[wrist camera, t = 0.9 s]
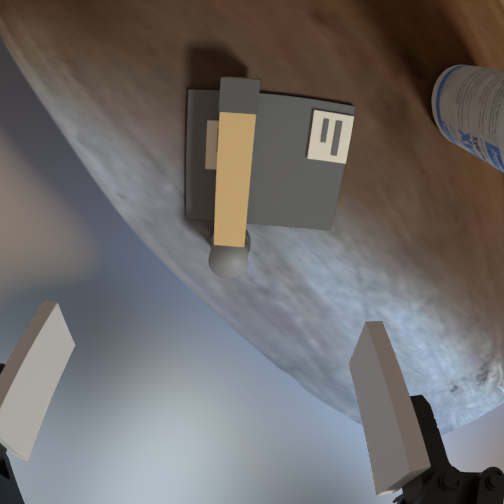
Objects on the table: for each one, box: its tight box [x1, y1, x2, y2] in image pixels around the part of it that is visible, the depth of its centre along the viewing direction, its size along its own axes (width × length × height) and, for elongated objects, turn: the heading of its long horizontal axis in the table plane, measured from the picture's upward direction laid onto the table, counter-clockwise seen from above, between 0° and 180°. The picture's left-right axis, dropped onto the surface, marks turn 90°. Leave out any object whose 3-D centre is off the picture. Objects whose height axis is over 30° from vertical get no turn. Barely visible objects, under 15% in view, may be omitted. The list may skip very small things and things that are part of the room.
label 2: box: [307, 110, 354, 164], centre depth 30 cm, size 5×4×1 cm
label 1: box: [205, 120, 219, 170], centre depth 31 cm, size 5×4×1 cm
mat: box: [186, 89, 355, 231], centre depth 32 cm, size 14×16×1 cm
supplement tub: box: [432, 65, 504, 173], centre depth 21 cm, size 10×10×15 cm
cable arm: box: [209, 76, 261, 278], centre depth 30 cm, size 20×4×3 cm, turn 175°
